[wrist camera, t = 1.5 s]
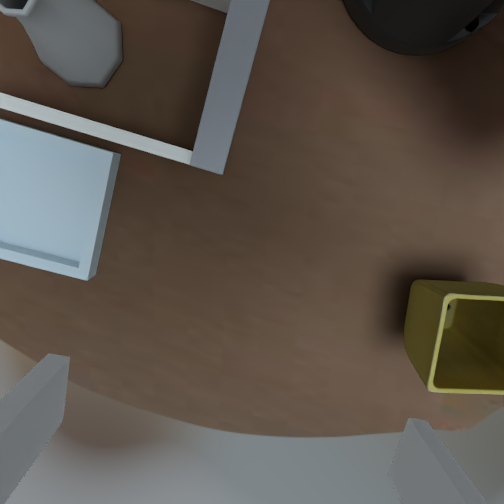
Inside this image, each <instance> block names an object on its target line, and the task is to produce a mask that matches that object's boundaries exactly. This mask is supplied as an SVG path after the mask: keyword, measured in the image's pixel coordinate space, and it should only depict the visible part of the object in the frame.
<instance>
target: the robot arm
mask: <svg viewBox="0 0 504 504" xmlns="http://www.w3.org/2000/svg"><path fill="white" fill-rule="evenodd" d="M343 1H344V3H345V5H346V8H347V10H348V12H349V14H350V15H351V17H352V19H353V20H354V22H355V23H356V24H357V26H358V27H359V28H360V29H361V30H362V31H363V32H364V33H365V35H367V36H368V37H369V38H370V39H371V40H373V41H374V42H375V43H377V44H378V45H380V46H382V47H384V48H386V49H388V50H390V51H393V52H396V53H400V54H405V55H428V54H433V53H437V52H441V51H443V50H446V49H448V48H451V47H453V46H455V45H456V44H458V43H460V42H462V41H463V40H465V39H467V38H468V37H470V36H472V35H473V34H475V33H477V32H478V31H479V30H481V29H482V28H483V27H485V26H486V25H487V24H488V23H489V22H490V21H491V20H493V19H494V18H495V17H496V16H497V15H498V14H499V12H500V11H501V10H502V9H503V8H504V0H343ZM69 363H70V357H67V356H61V355H56V354H50V353H48V354H47V355H46V356H45V357H44V358H43V359H42V360H41V361H40V362H39V363H38V364H37V365H36V366H35V367H34V368H33V369H32V370H31V371H30V372H29V373H28V374H27V375H26V376H25V377H24V378H22V379H21V380H20V381H19V382H18V383H17V384H16V385H15V386H14V387H13V388H12V389H11V390H10V391H9V392H8V393H7V394H6V395H5V396H4V397H3V398H2V399H1V400H0V504H4V503H5V502H6V501H7V499H8V498H9V496H10V495H11V493H12V492H13V490H14V489H15V488H16V486H17V485H18V483H19V482H20V481H21V479H22V478H23V476H24V475H25V474H26V472H27V471H28V469H29V468H30V467H31V465H32V463H33V462H34V461H35V459H36V458H37V457H38V455H39V454H40V452H41V451H42V450H43V448H44V447H45V445H46V444H47V442H48V441H49V440H50V438H51V437H52V435H53V434H54V433H55V431H56V430H57V428H58V427H59V425H60V424H61V422H62V421H63V415H64V406H65V397H66V388H67V380H68V371H69ZM388 476H389V478H390V481H391V483H392V484H393V487H394V489H395V491H396V493H397V495H398V497H399V499H400V502H401V504H487V502H486V501H485V499H484V498H483V497H482V495H481V494H480V493H479V491H478V490H477V489H476V487H475V486H474V484H473V483H472V482H471V480H470V479H469V478H468V476H467V475H466V473H465V472H464V471H463V469H462V468H461V467H460V465H459V464H458V463H457V461H456V460H455V459H454V457H453V456H452V454H451V453H450V452H449V451H448V449H447V448H446V446H445V445H444V443H443V442H442V441H441V439H440V438H439V437H438V436H437V434H436V432H435V431H434V430H433V428H432V427H431V426H430V424H429V423H428V422H427V421H425V420H419V419H414V418H409V419H408V421H407V424H406V427H405V429H404V432H403V435H402V437H401V440H400V442H399V445H398V448H397V451H396V453H395V456H394V458H393V461H392V464H391V466H390V469H389V471H388Z"/></svg>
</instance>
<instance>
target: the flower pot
mask: <svg viewBox="0 0 504 504" xmlns="http://www.w3.org/2000/svg"><path fill="white" fill-rule="evenodd" d="M448 305H449V308H448V309H447V306H448ZM404 344H405V349H406V352H407V355H408V357H409V359H410V361H411V363H412V364H413V366H414V368H415V369H416V371H417V373H418V374H419V376H420V378H421V379H422V381H423V383H424V384H425V386H426V388H427V389H428V390H429V391H431V392H441V393H469V394H502V395H504V286H503V285H499V284H494V283H485V282H460V281H440V280H423V279H419V280H415V281H414V282H413V283H412V285H411V289H410V295H409V301H408V307H407V313H406V319H405V327H404Z"/></svg>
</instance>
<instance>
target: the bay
mask: <svg viewBox="0 0 504 504" xmlns="http://www.w3.org/2000/svg"><path fill="white" fill-rule="evenodd" d="M191 1H194V2H196V3H199V4H202V5H205V6H208V7H211V8H213V9H216V10H219V11H222V12H225V13H227V17H226V21H225V25H224V29H223V33H222V37H221V41H220V45H219V49H218V53H217V57H216V61H215V65H214V69H213V73H212V77H211V81H210V85H209V89H208V93H207V97H206V101H205V105H204V109H203V113H202V117H201V121H200V125H199V129H198V133H197V137H196V141H195V145H194V149H193V151H190V150H187V149H184V148H180V147H177V146H174V145H170V144H167V143H164V142H161V141H157V140H154V139H151V138H148V137H144V136H141V135H138V134H134V133H131V132H128V131H125V130H121V129H118V128H115V127H111V126H108V125H105V124H102V123H98V122H95V121H92V120H89V119H85V118H82V117H79V116H75V115H72V114H69V113H66V112H62V111H59V110H56V109H53V108H49V107H46V106H43V105H39V104H36V103H33V102H30V101H26V100H23V99H20V98H16V97H13V96H10V95H7V94H3V93H0V108H2V109H6V110H9V111H12V112H16V113H19V114H22V115H26V116H29V117H32V118H36V119H39V120H42V121H46V122H49V123H52V124H56V125H59V126H62V127H66V128H69V129H72V130H76V131H79V132H82V133H86V134H89V135H92V136H96V137H99V138H102V139H106V140H109V141H112V142H115V143H119V144H122V145H125V146H129V147H132V148H135V149H139V150H142V151H145V152H149V153H152V154H155V155H159V156H162V157H165V158H169V159H172V160H175V161H179V162H182V163H185V164H189V165H191V166H194V167H197V168H201V169H204V170H207V171H211V172H214V173H217V174H221V175H223V173H224V169H225V165H226V161H227V158H228V154H229V150H230V147H231V143H232V139H233V136H234V132H235V128H236V125H237V121H238V117H239V114H240V110H241V106H242V103H243V99H244V95H245V92H246V88H247V84H248V81H249V77H250V73H251V69H252V66H253V62H254V58H255V55H256V51H257V47H258V44H259V40H260V36H261V33H262V29H263V25H264V22H265V18H266V14H267V11H268V7H269V3H270V0H191Z"/></svg>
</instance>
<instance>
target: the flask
mask: <svg viewBox="0 0 504 504" xmlns="http://www.w3.org/2000/svg"><path fill="white" fill-rule="evenodd" d="M0 11H1V12H2V13H3V14H5V15H6V16H15V17H16V18H17V19H18V20H19V21H20V22H21V23H22V25H23V26H24V28H25V30H26V32H27V34H28V36H29V38H30V39H31V41H32V43H33V45H34V48H35V50H36V52H37V54H38V57H39V59H40V61H41V62H42V64H44V65H45V66H46V67H47V68H49V69H50V70H51V71H52V72H54V73H55V74H56V75H57V76H59V77H60V78H61V79H62V80H64V81H65V82H66V83H67V84H69V85H70V86H78V87H96V88H104V87H105V86H106V84H107V83H108V81H109V80H110V78H111V77H112V75H113V74H114V73H115V71H116V70H117V68H118V67H119V65H120V64H121V62H122V61H123V54H122V26H121V23H120V22H119V21H118V20H117V19H116V18H115V17H113V16H112V15H111V14H110V13H109V12H108V11H106V10H105V9H104V8H103V7H102V6H101V5H100V4H98V3H97V2H96V1H95V0H0Z"/></svg>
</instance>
